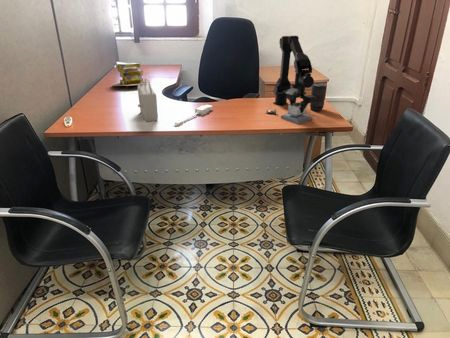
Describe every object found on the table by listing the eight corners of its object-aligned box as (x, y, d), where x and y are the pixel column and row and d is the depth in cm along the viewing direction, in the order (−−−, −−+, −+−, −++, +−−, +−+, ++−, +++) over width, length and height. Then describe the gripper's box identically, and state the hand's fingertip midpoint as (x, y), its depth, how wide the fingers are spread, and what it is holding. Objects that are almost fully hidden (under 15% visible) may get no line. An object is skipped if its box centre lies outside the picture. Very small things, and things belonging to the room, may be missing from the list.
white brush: (171, 127, 182) (170, 121, 180) (206, 108, 205) (205, 103, 204) (179, 129, 179) (178, 123, 178) (213, 109, 203) (213, 104, 201)
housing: (287, 113, 189) (288, 104, 187) (297, 110, 194) (298, 101, 191) (296, 116, 185) (297, 107, 183) (305, 113, 189) (307, 104, 187)
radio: (137, 111, 201) (132, 67, 189) (151, 109, 204) (147, 66, 192) (143, 123, 183) (138, 76, 171) (159, 122, 185) (154, 74, 174)
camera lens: (306, 108, 206) (309, 83, 199) (318, 107, 209) (321, 82, 202) (314, 112, 200) (317, 86, 193) (326, 111, 202) (329, 85, 195)
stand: (280, 118, 191) (281, 114, 190) (295, 113, 198) (295, 110, 197) (297, 124, 183) (298, 120, 182) (312, 119, 190) (312, 115, 189)
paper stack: (113, 82, 258) (109, 59, 250) (147, 80, 263) (144, 58, 255) (112, 91, 237) (108, 66, 229) (149, 89, 242) (146, 65, 234)
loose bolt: (266, 113, 198) (266, 109, 196) (266, 112, 200) (267, 108, 199) (275, 114, 196) (275, 110, 195) (276, 113, 199) (276, 108, 197)
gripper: (276, 81, 183) (274, 110, 191) (304, 89, 171) (300, 119, 178) (290, 78, 189) (288, 106, 197) (318, 85, 177) (314, 114, 184)
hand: (297, 111), depth 189 cm, fingers closed on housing, 6 cm apart
